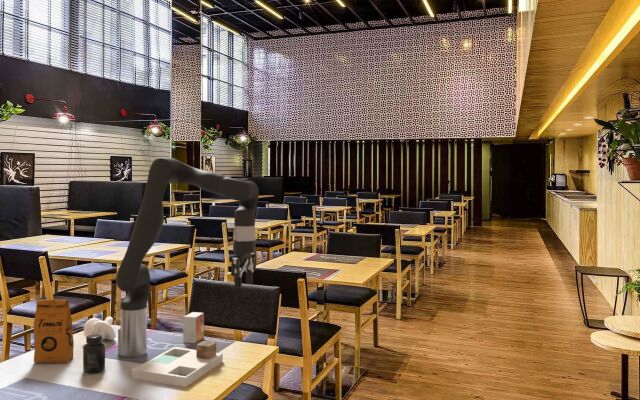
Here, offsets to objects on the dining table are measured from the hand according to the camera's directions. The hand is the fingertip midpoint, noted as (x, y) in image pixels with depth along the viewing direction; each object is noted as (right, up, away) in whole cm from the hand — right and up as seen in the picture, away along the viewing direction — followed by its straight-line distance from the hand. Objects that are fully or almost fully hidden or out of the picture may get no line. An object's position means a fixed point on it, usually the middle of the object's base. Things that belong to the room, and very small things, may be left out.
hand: (243, 285), depth 174 cm
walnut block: (-14, -26, +4) cm, 29 cm away
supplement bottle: (-50, -29, -3) cm, 58 cm away
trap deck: (-22, -29, -1) cm, 36 cm away
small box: (-25, -28, +32) cm, 49 cm away
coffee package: (-68, -28, +5) cm, 74 cm away
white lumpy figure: (-61, -27, +28) cm, 73 cm away
